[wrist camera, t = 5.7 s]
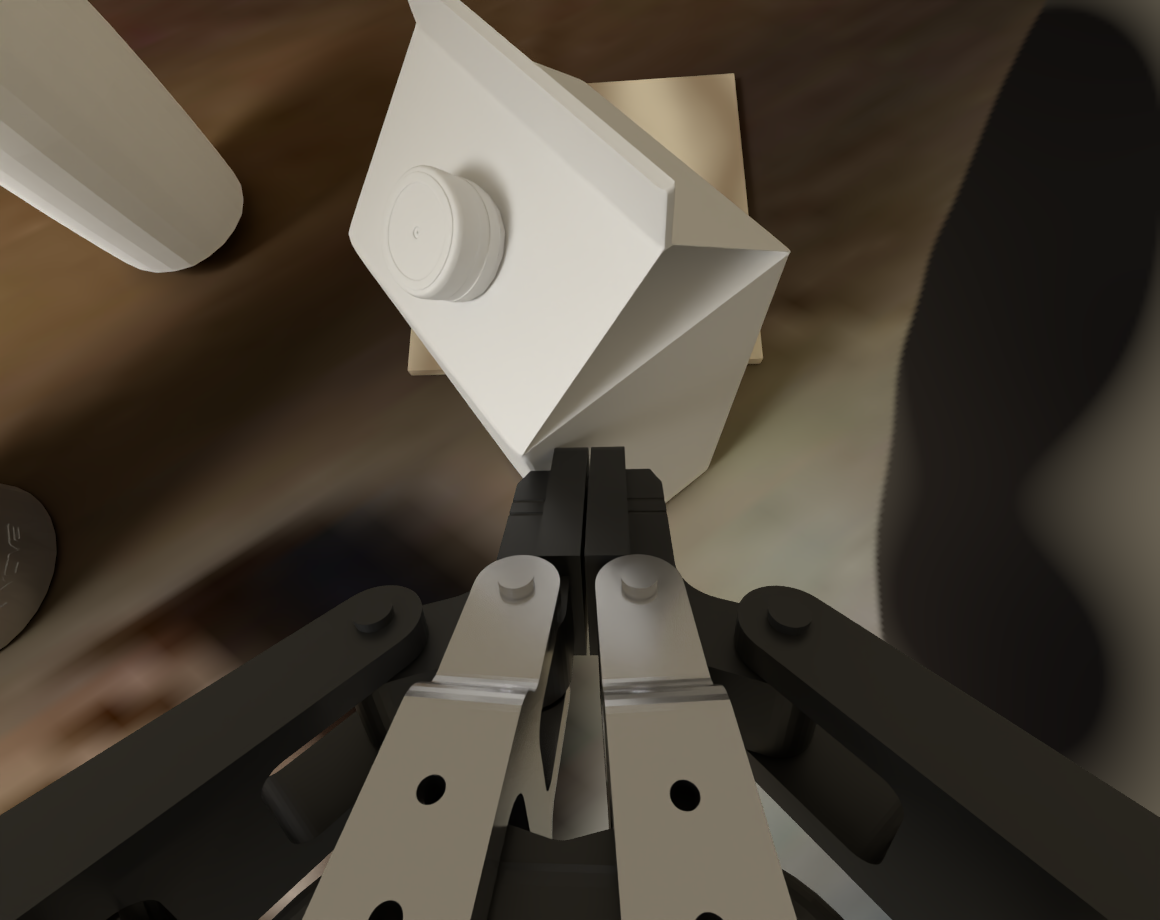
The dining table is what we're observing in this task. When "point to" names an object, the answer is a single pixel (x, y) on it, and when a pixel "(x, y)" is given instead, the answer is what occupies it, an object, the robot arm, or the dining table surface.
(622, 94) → the birch board
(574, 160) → the milk carton
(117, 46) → the cup
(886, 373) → the dining table surface
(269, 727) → the robot arm
